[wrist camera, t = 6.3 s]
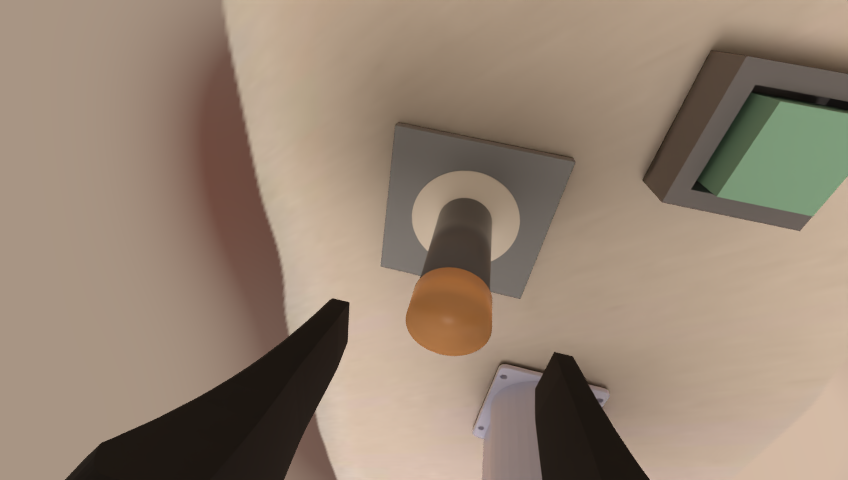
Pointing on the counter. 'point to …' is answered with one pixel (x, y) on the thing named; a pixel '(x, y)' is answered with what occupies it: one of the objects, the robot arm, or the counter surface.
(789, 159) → the button
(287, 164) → the counter surface
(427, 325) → the cylinder
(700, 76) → the button housing
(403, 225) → the grey square plate
